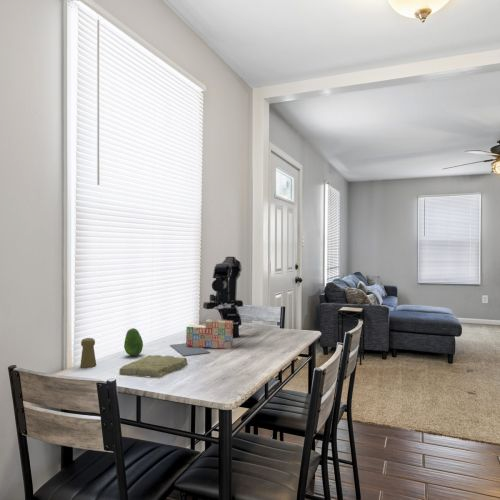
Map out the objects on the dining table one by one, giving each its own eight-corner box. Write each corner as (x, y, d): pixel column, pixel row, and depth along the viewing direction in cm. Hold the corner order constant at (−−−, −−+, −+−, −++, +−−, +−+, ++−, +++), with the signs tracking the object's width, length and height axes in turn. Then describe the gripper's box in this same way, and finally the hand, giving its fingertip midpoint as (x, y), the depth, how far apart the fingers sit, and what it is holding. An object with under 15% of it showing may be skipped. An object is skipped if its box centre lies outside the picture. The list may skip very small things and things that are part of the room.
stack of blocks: (185, 346, 192) (186, 320, 192) (189, 343, 198) (189, 318, 198) (230, 348, 190) (231, 322, 190) (232, 345, 196) (233, 320, 196)
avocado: (126, 354, 182) (126, 327, 183) (144, 353, 183) (144, 326, 183) (122, 358, 175) (122, 330, 175) (141, 357, 175) (140, 329, 175)
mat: (193, 343, 203) (193, 342, 203) (209, 353, 182) (209, 352, 182) (169, 345, 197) (169, 344, 197) (183, 356, 177) (183, 355, 177)
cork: (86, 368, 159) (86, 340, 159) (76, 366, 163) (76, 339, 163) (99, 365, 164) (99, 337, 165) (90, 363, 168) (89, 336, 168)
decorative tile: (118, 375, 152) (118, 365, 152) (149, 361, 171) (149, 353, 171) (162, 380, 145) (162, 370, 145) (189, 365, 164) (189, 356, 164)
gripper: (234, 287, 209) (234, 318, 209) (199, 289, 201) (199, 321, 201) (243, 289, 199) (243, 321, 199) (206, 291, 191) (207, 325, 191)
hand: (223, 322), depth 198 cm, fingers closed
